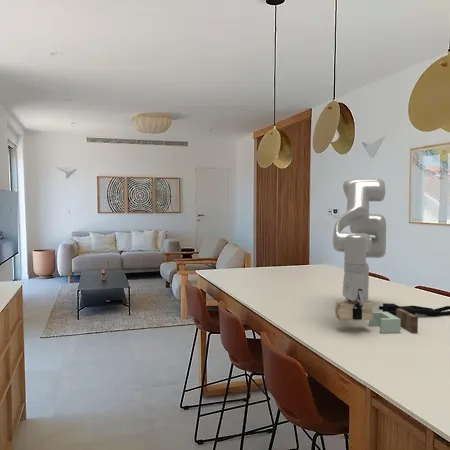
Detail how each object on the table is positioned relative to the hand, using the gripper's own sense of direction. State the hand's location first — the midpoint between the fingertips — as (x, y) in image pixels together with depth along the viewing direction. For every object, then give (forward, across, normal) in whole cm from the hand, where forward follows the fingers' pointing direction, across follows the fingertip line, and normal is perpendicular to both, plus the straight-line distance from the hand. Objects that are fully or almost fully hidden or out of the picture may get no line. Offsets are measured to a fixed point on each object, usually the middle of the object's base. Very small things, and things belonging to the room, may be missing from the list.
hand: (353, 316), depth 156 cm
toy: (+6, -21, +37) cm, 43 cm away
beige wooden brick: (+1, 0, 0) cm, 1 cm away
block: (+5, 0, +12) cm, 13 cm away
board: (+6, -2, +8) cm, 10 cm away
